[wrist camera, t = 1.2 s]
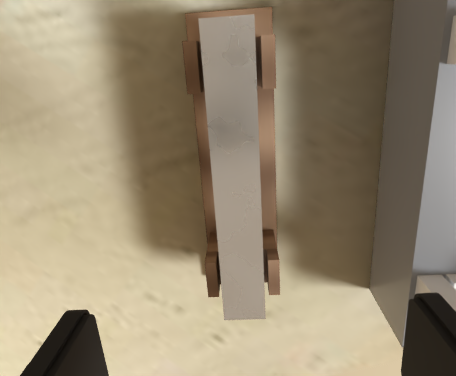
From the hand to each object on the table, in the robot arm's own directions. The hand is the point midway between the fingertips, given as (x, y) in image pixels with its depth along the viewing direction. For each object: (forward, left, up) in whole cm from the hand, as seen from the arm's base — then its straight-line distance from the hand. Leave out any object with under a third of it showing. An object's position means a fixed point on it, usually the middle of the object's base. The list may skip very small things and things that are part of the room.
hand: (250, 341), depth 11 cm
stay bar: (0, 0, -14) cm, 14 cm away
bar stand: (0, 0, -20) cm, 20 cm away
